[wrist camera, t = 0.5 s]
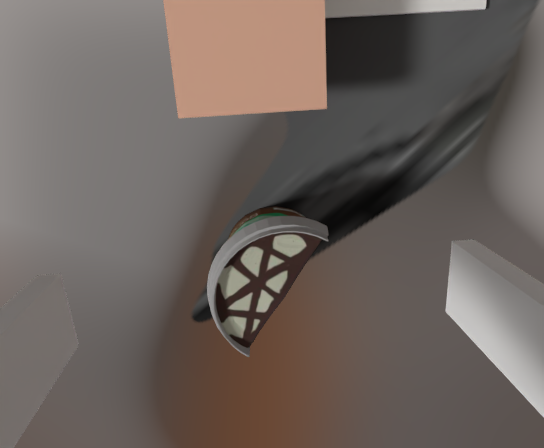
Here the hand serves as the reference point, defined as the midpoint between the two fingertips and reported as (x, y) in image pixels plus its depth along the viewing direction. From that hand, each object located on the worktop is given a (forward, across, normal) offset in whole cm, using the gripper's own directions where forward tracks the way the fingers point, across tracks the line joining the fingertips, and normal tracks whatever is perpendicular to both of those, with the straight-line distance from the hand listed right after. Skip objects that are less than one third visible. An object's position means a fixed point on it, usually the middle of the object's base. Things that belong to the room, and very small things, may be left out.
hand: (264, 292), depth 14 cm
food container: (+25, 0, -7) cm, 26 cm away
